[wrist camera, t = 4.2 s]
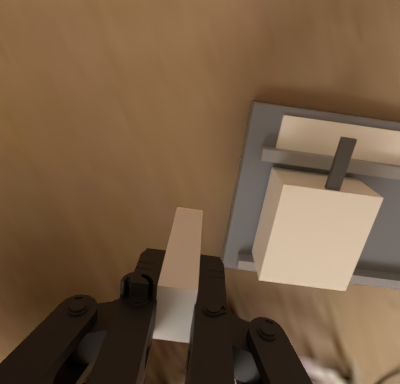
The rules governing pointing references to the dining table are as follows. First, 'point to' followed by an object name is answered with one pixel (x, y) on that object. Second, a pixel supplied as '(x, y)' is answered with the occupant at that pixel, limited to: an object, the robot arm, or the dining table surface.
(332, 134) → the gauge bed
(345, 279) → the beige block with rod
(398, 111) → the dining table surface
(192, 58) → the dining table surface
